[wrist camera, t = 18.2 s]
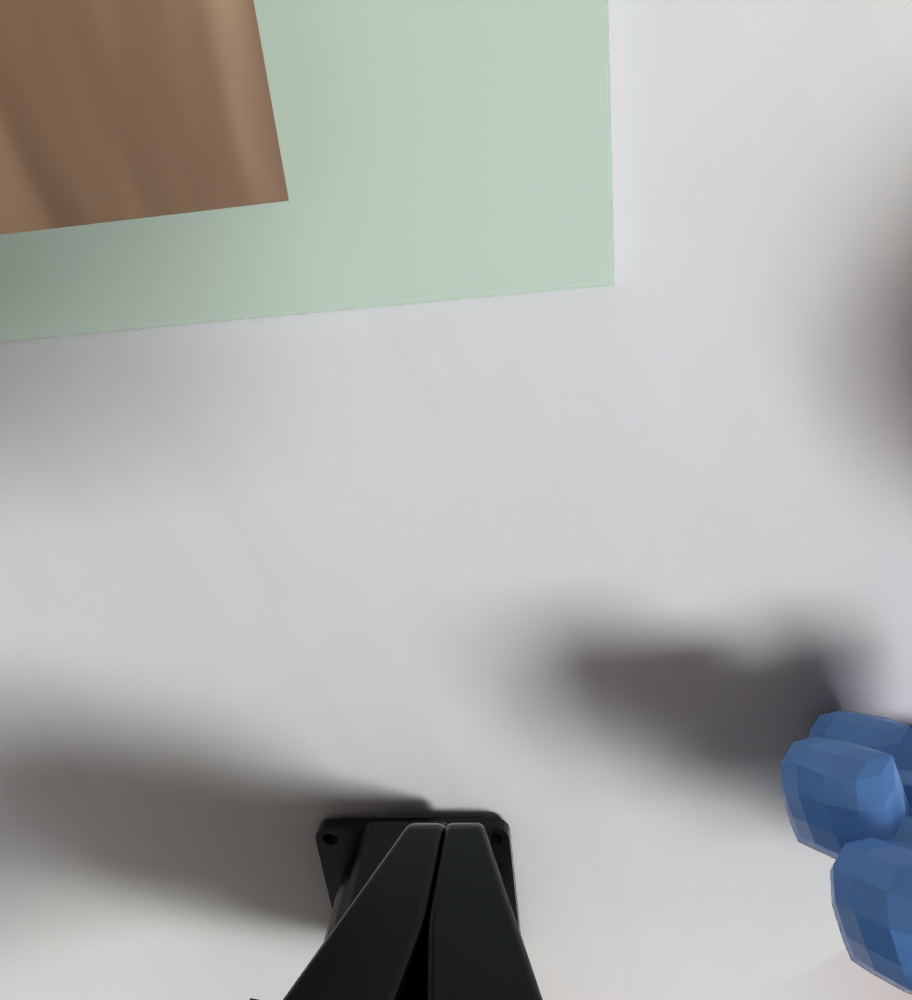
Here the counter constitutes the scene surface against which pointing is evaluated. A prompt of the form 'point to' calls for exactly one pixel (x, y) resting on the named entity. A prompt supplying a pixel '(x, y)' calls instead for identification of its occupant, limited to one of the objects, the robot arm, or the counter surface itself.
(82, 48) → the domino
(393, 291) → the board
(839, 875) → the grapes
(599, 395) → the counter surface
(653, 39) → the counter surface
